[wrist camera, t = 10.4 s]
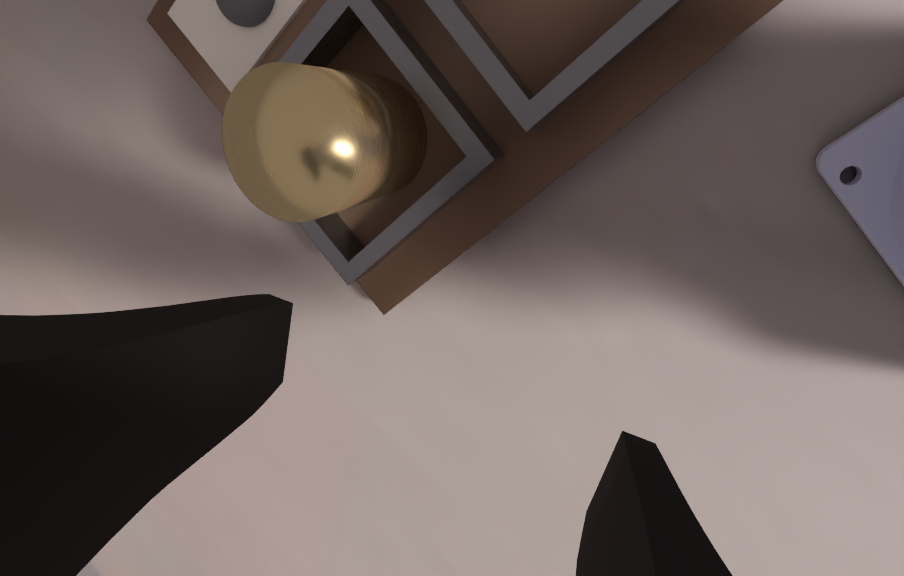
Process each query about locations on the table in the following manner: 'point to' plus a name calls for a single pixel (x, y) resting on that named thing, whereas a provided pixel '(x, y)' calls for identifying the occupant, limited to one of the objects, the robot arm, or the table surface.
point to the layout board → (461, 98)
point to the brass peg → (320, 139)
